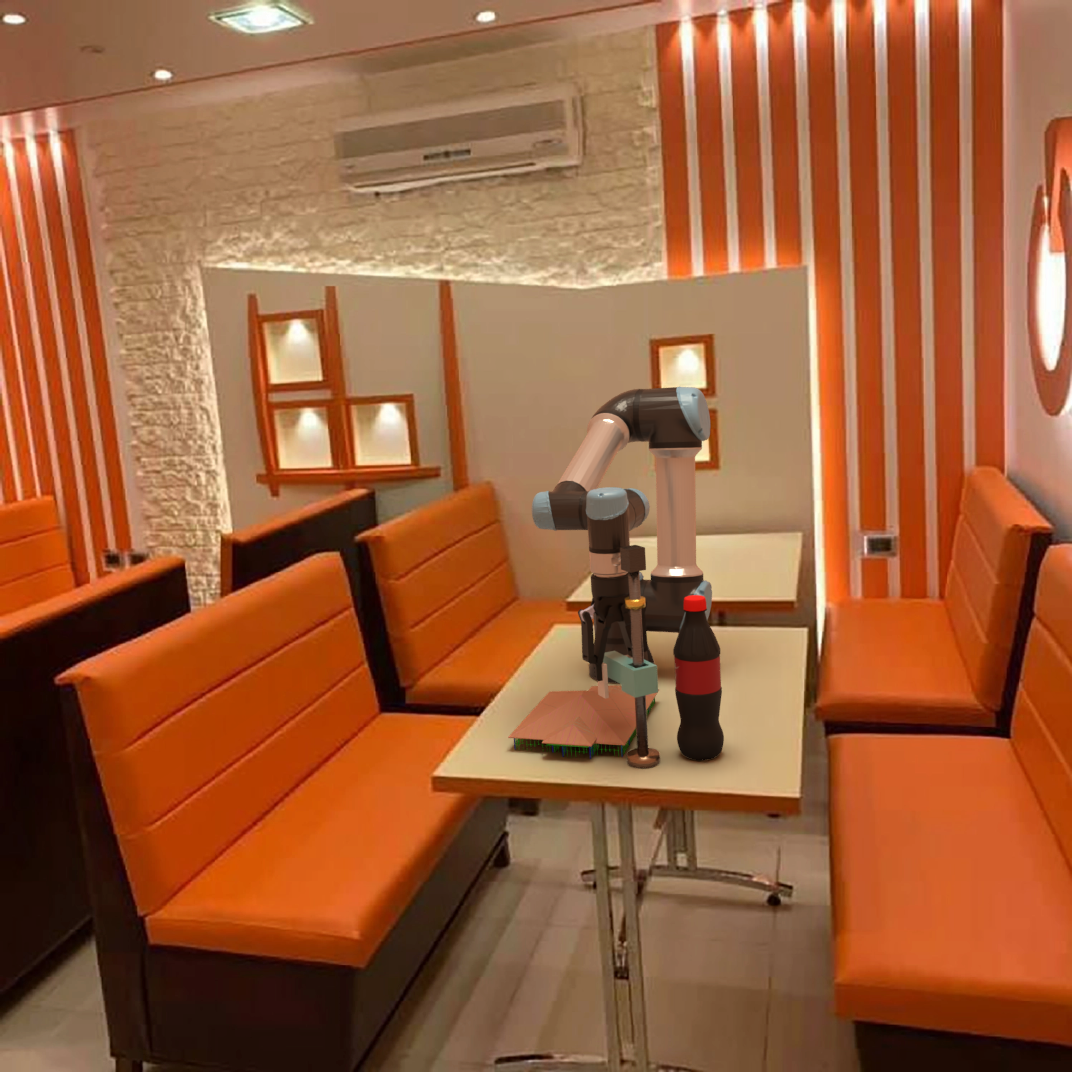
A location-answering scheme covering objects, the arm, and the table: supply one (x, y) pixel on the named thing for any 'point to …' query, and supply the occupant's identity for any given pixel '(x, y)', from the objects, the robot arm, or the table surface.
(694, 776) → the table surface
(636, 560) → the post stand
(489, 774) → the table surface
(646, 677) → the teal block with hole
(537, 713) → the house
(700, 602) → the cola bottle
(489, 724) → the table surface
